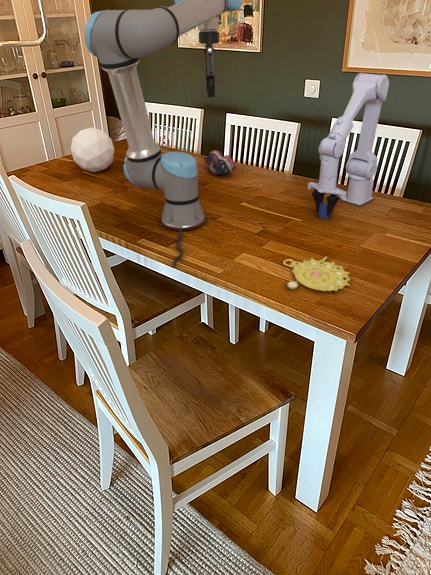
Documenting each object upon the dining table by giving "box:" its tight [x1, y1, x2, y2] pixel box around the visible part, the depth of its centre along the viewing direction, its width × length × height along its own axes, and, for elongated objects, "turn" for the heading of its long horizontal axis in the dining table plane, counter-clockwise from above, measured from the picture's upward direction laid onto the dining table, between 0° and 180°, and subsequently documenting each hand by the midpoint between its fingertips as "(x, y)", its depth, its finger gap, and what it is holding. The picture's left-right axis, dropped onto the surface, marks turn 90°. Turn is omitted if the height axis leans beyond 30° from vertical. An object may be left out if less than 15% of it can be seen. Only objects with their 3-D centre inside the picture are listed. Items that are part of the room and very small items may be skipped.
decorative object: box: [282, 255, 351, 292], centre depth 122 cm, size 21×2×20 cm
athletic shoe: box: [201, 149, 237, 176], centre depth 198 cm, size 11×22×12 cm
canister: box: [317, 201, 330, 219], centre depth 156 cm, size 4×4×4 cm
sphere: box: [70, 126, 115, 173], centre depth 204 cm, size 19×20×20 cm
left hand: (210, 94), depth 171 cm, fingers open, 13 cm apart
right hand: (324, 212), depth 156 cm, fingers closed on canister, 4 cm apart
